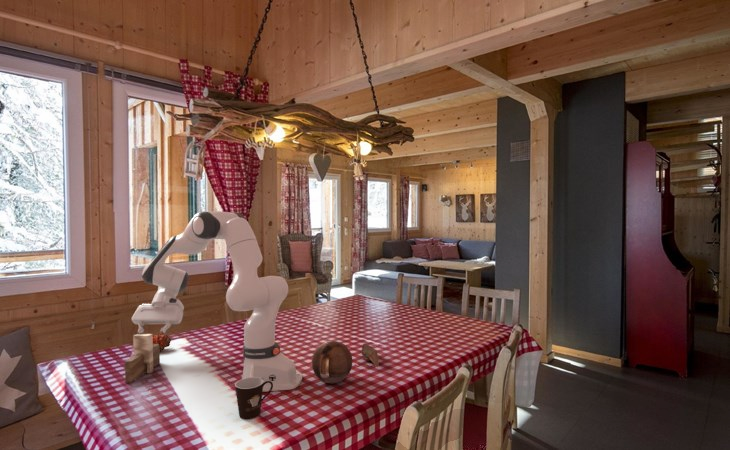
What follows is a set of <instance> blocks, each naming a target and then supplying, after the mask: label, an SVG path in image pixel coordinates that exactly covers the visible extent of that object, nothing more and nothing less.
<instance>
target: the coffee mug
mask: <svg viewBox="0 0 730 450" xmlns="http://www.w3.org/2000/svg"><path fill="white" fill-rule="evenodd" d="M266 383H270V384H271V388H270V390H269V391H267V393H265V395H264V396H263V393H264V392H263V386H264V385H265V384H266ZM234 388H235V396H236V402H237V408H238V415H239V418H240V419H241V420H253V419H256V418H258V417H259V416H260V415H261V412H262V402H263V401H264V400H265V399H266V398H267V397H268V395H270V393H271V392H272V391H271V390H272V388H273V383H272V382H271V381H266V382H264V383H263V379H261V378H257V377H249V378H244V379H242V378H241V379H239V380H237V381H236V382H235V384H234Z"/></svg>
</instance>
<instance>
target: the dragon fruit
mask: <svg viewBox="0 0 730 450" xmlns="http://www.w3.org/2000/svg"><path fill="white" fill-rule="evenodd" d="M152 336H153V344H159V352H160V351H161V350H162V351H165V348H168V347H170V345H171V342H172V339H171V337H169V336H168V335H167V334H164V333H161V332H160V333H159V334H152Z"/></svg>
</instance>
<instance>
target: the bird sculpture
mask: <svg viewBox="0 0 730 450" xmlns="http://www.w3.org/2000/svg"><path fill="white" fill-rule="evenodd" d="M361 355H362V356H363V359H364V361H367V362H369V361H371V362H372V363H373V365H374V366H375V367H376V368H378V367H379V366H380V363H379V359H380V355H379V354H378V351H377V350H376V349H375V348H374V347H373V346H371V345H369V344H368V343H363V344H362V347H361Z"/></svg>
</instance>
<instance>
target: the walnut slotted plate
mask: <svg viewBox="0 0 730 450" xmlns="http://www.w3.org/2000/svg"><path fill="white" fill-rule="evenodd" d="M160 357H161V355H160V351H159V344H153V368H154V366H155V365H156V366H157V365H159V364H160V363H161V359H160ZM158 363H159V364H158ZM156 366H155V367H156ZM145 372H146V373H147V363H143V354H136V355H135V356H134V355H133V356H131V357H129V358H128V359H126V360H125V361H124V380H125V381H124V382H125V383H133V382H134V381H136V380H137V379H139V378H140V377H142V376H143V375H145ZM141 375H142V376H141ZM138 377H139V378H138ZM135 379H136V380H135Z"/></svg>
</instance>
